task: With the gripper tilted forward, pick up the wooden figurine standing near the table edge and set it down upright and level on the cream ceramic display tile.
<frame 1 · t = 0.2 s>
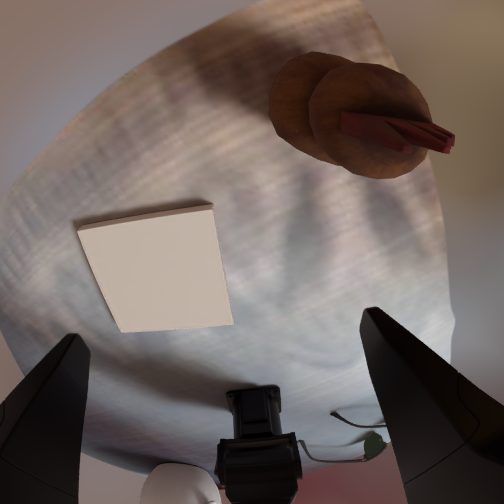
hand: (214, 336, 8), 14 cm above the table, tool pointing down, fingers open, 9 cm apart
pitcher: (192, 467, 50), on the table
wooden figurine: (311, 104, 18), on the table
sunglasses: (353, 425, 44), on the table
display tile: (159, 274, 24), on the table
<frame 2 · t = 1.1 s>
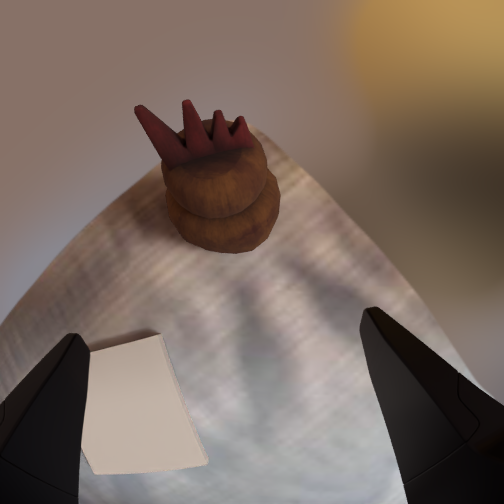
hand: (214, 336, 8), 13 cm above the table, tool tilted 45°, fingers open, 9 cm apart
wooden figurine: (230, 224, 23), on the table
display tile: (124, 412, 20), on the table
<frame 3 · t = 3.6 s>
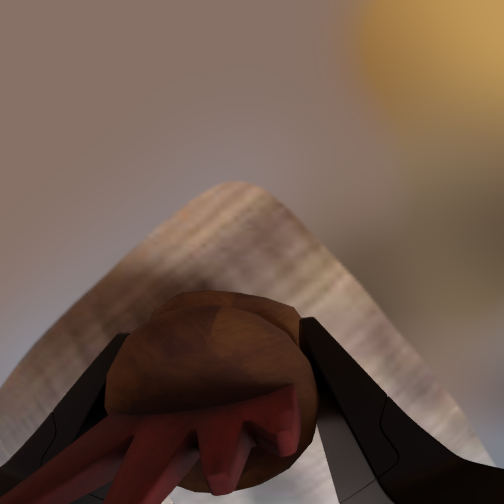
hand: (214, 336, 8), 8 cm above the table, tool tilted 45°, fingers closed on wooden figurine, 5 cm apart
wooden figurine: (236, 349, 16), on the table, touching gripper
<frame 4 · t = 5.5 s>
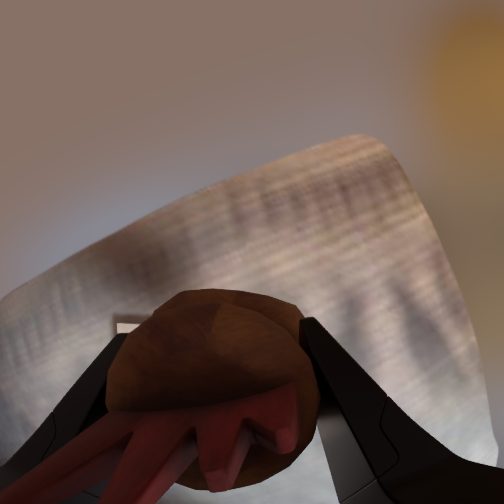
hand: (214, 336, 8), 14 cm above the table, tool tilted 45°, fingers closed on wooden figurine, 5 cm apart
wooden figurine: (238, 347, 16), point 6 cm above the table, touching gripper
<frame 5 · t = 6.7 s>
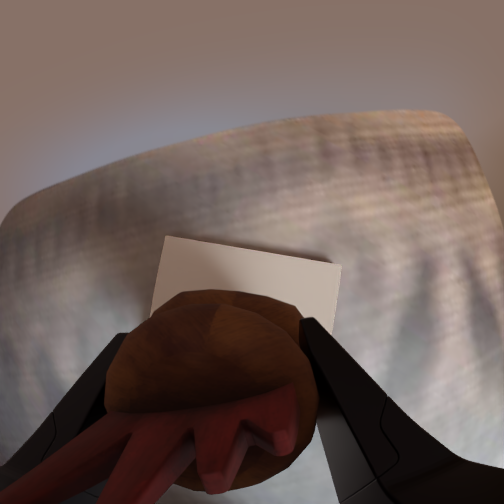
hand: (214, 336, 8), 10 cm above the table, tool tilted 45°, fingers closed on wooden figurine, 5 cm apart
wooden figurine: (238, 347, 16), point 2 cm above the table, touching gripper
display tile: (237, 339, 18), on the table
when the fingers open (9 cm above the table, at t = 7.6 s): wooden figurine stays where it is, resting on display tile.
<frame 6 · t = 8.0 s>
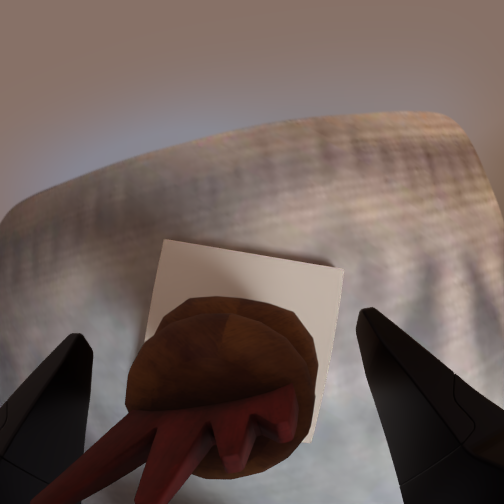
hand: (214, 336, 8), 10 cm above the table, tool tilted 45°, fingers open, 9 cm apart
wooden figurine: (239, 349, 17), point 1 cm above the table, touching display tile
display tile: (237, 345, 18), on the table
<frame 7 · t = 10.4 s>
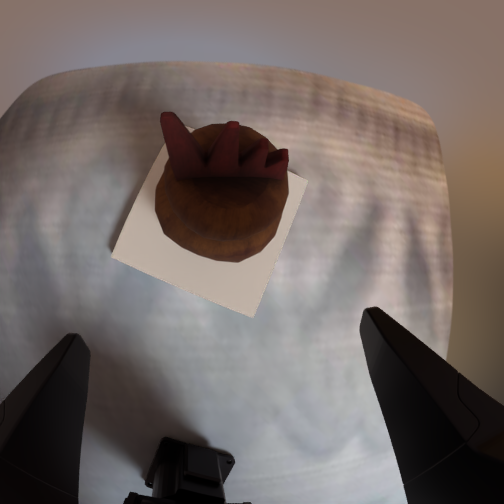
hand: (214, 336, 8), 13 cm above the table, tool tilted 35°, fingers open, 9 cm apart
wooden figurine: (213, 218, 21), point 1 cm above the table, touching display tile
display tile: (211, 217, 22), on the table
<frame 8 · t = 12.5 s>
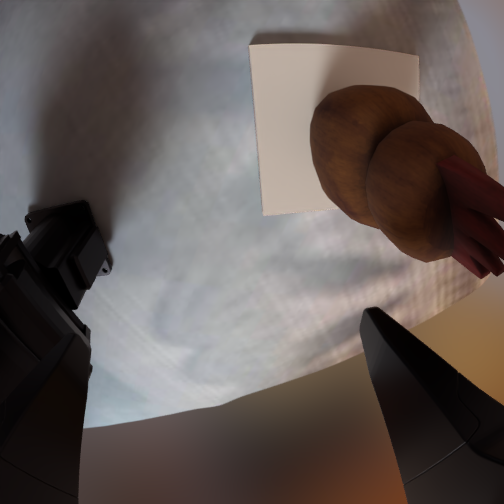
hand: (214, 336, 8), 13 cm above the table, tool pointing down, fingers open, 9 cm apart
wooden figurine: (342, 132, 17), point 1 cm above the table, touching display tile
display tile: (340, 127, 18), on the table
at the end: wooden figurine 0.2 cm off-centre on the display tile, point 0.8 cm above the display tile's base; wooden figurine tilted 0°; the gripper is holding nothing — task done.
